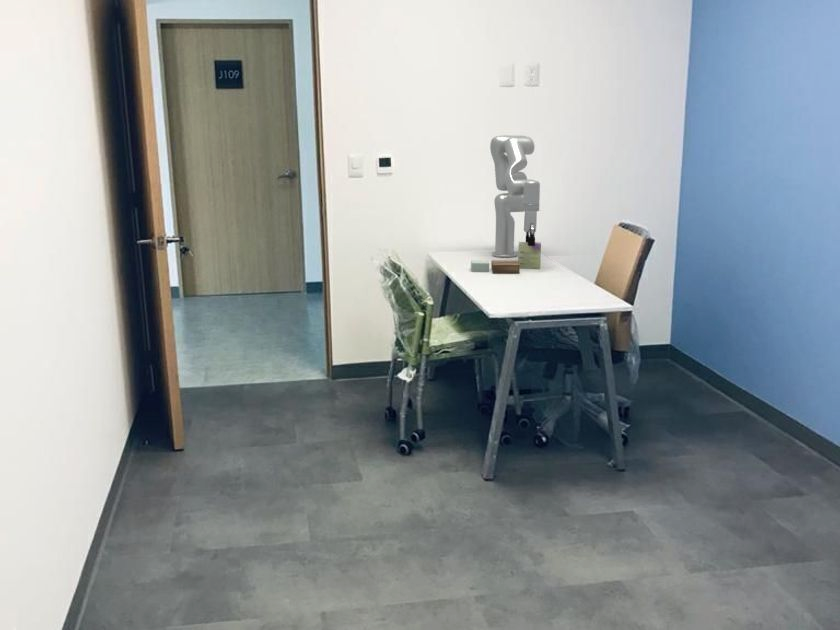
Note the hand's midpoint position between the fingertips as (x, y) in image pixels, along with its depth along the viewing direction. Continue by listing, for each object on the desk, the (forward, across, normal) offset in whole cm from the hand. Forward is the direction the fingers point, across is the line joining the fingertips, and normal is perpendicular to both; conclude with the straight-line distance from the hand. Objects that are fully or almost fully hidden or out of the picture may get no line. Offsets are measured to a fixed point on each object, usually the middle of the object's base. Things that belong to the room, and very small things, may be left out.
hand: (530, 244), depth 374 cm
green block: (+11, +7, -24) cm, 27 cm away
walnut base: (+11, +9, -12) cm, 19 cm away
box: (+11, -1, 0) cm, 11 cm away
